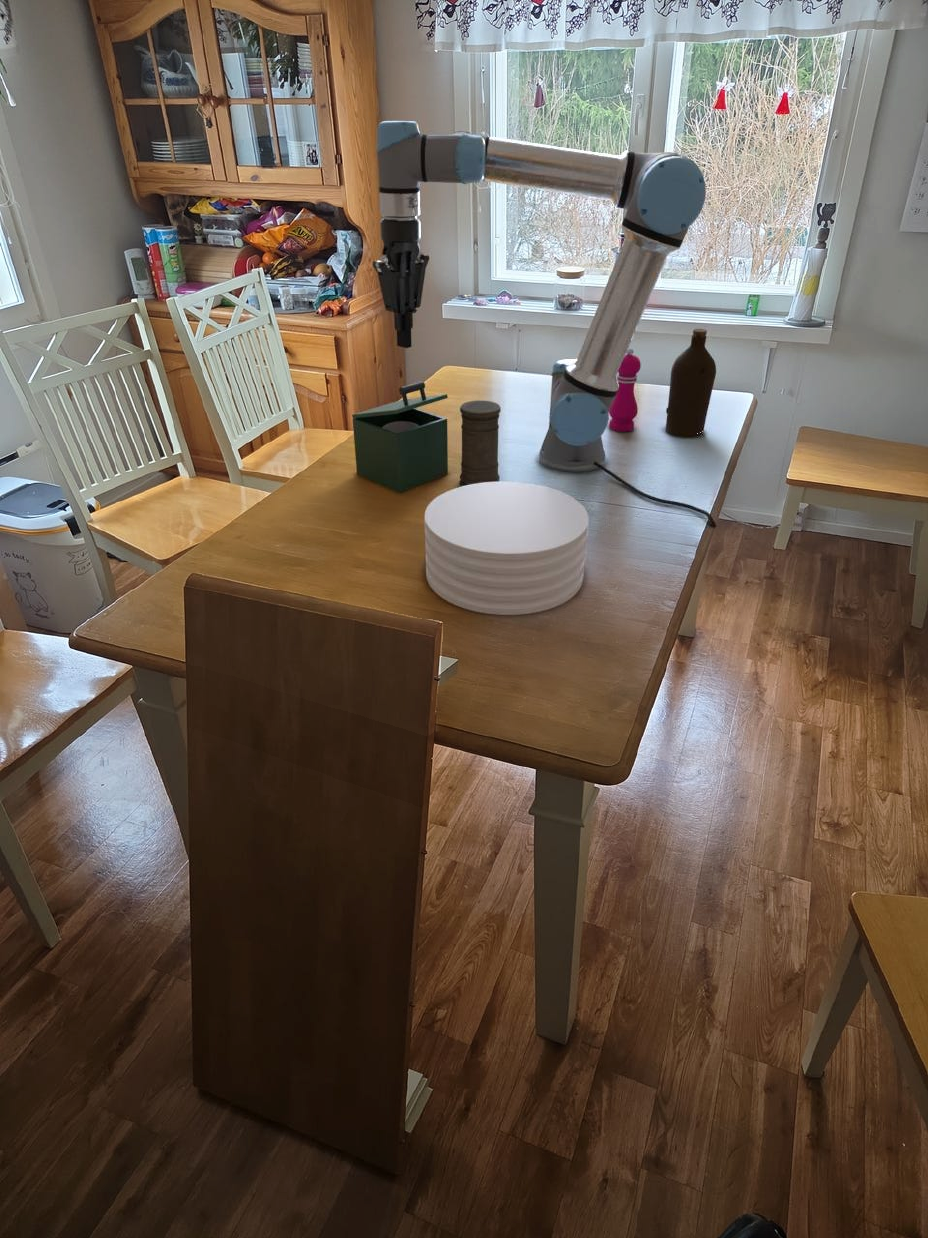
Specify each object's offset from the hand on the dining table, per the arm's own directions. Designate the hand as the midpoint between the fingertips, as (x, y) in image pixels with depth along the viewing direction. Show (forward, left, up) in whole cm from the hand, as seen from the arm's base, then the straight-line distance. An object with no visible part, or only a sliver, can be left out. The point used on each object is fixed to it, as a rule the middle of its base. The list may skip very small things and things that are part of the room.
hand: (404, 346), depth 162 cm
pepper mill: (-15, -60, -29) cm, 68 cm away
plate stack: (-44, +17, -29) cm, 55 cm away
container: (-15, -7, -29) cm, 33 cm away
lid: (+2, 0, -14) cm, 14 cm away
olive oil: (-28, -69, -29) cm, 80 cm away
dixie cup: (+2, 0, -28) cm, 28 cm away
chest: (+2, 0, -29) cm, 29 cm away
